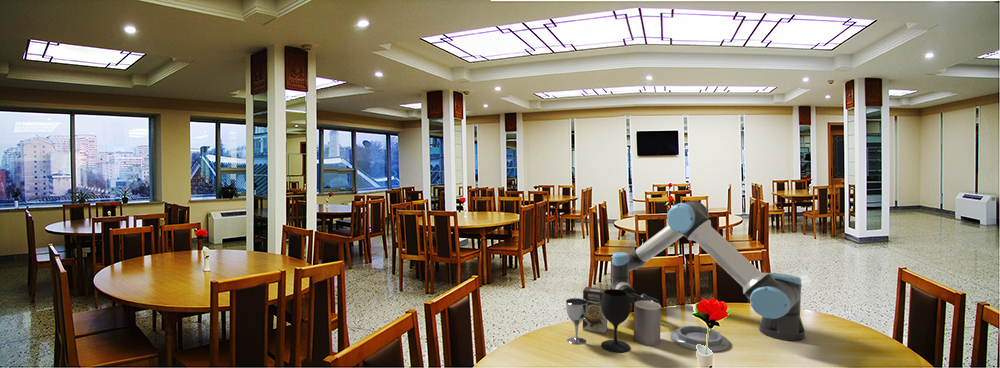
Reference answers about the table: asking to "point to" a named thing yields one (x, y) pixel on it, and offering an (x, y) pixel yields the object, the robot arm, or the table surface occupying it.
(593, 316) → the coffee box
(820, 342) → the table surface
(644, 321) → the pillar candle
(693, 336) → the candle plate
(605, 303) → the wine glass
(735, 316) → the table surface
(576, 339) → the wine glass
